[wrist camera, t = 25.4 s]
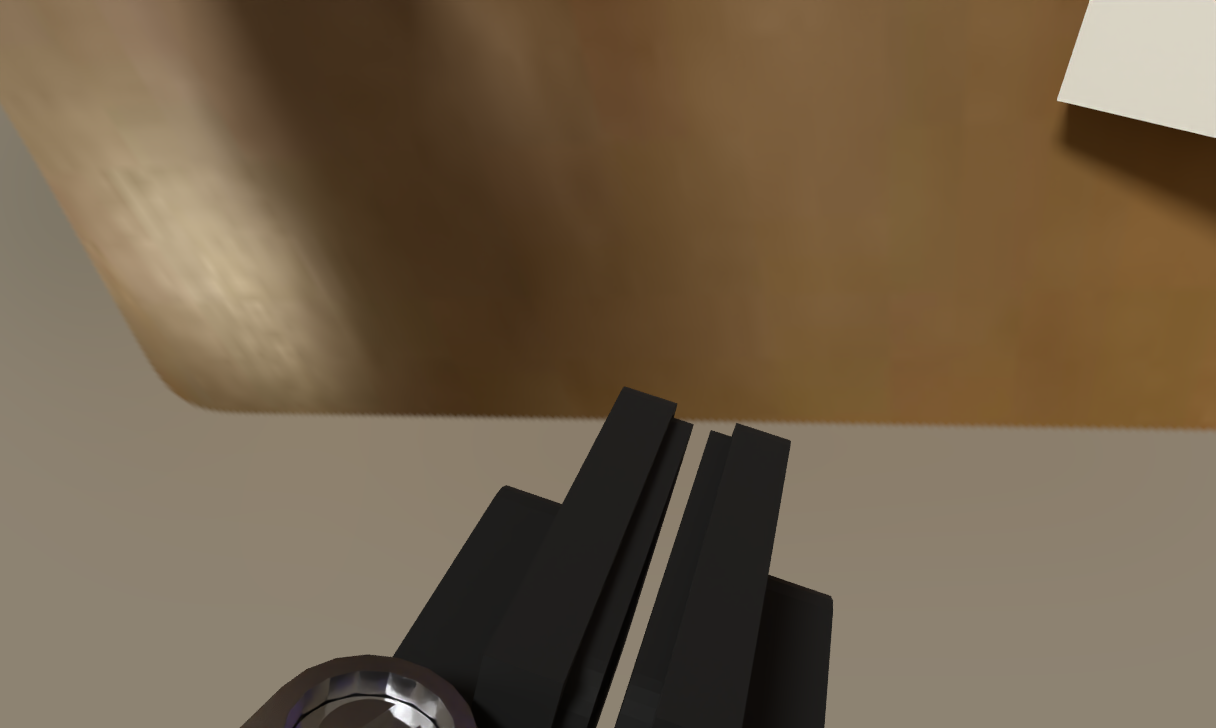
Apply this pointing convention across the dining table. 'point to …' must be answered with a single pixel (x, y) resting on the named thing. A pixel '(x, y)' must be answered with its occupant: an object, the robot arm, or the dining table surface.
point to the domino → (1147, 62)
